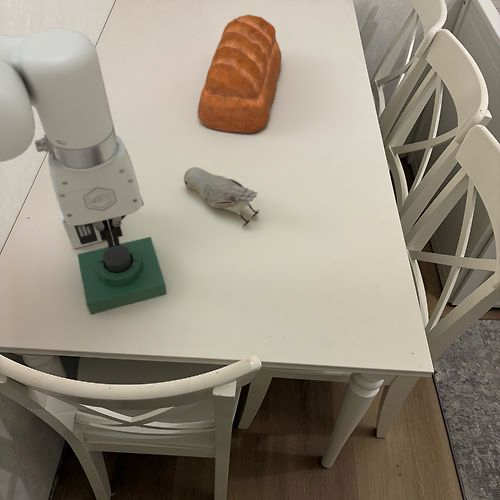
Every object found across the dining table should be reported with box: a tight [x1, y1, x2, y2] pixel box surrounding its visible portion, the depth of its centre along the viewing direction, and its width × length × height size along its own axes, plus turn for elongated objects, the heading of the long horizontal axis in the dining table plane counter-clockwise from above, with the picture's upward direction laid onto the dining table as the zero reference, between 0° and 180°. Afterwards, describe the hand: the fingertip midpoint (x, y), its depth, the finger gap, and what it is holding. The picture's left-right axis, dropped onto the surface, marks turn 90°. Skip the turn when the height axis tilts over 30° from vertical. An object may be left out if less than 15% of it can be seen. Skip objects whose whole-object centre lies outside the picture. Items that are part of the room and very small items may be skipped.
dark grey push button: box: [103, 244, 132, 273], centre depth 75 cm, size 4×4×2 cm
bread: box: [197, 14, 283, 134], centre depth 108 cm, size 16×31×13 cm, turn 170°
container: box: [55, 197, 113, 249], centre depth 80 cm, size 8×8×13 cm
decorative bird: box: [183, 166, 260, 230], centre depth 87 cm, size 5×16×8 cm, turn 55°
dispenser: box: [77, 236, 167, 315], centre depth 77 cm, size 12×10×5 cm
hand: (112, 239), depth 71 cm, fingers closed
